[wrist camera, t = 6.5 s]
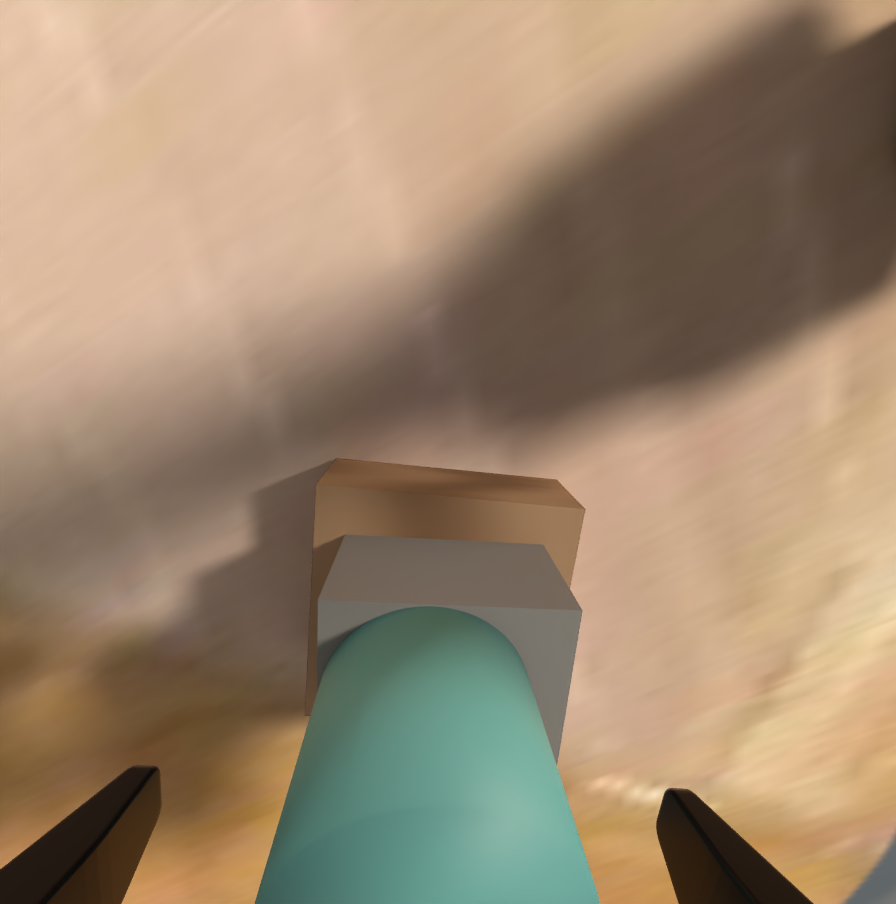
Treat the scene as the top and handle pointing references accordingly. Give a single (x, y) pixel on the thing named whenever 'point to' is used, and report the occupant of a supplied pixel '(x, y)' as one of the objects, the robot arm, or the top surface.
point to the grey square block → (461, 602)
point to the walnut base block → (434, 517)
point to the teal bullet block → (426, 777)
